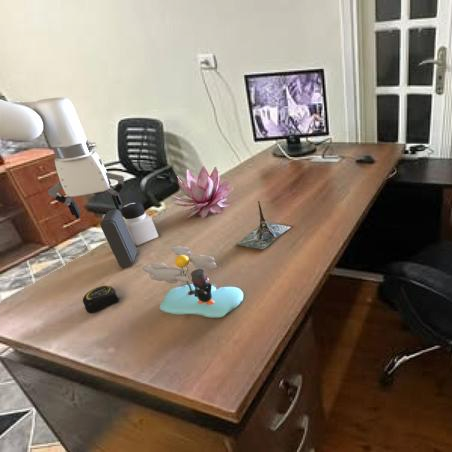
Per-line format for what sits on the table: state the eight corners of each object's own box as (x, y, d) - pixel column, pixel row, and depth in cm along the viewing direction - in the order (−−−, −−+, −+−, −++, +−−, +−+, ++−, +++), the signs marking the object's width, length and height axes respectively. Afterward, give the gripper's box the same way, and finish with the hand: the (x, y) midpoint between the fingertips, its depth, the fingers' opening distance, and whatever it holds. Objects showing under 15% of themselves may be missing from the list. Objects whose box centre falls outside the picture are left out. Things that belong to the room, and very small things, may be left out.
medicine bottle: (159, 236, 115) (146, 204, 109) (137, 246, 111) (122, 212, 105) (150, 230, 120) (138, 198, 114) (129, 239, 115) (115, 206, 109)
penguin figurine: (250, 293, 85) (237, 241, 78) (228, 325, 76) (210, 270, 69) (181, 285, 91) (162, 235, 83) (153, 314, 82) (129, 261, 74)
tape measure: (90, 319, 82) (83, 307, 80) (86, 304, 87) (80, 292, 85) (121, 305, 86) (115, 293, 84) (116, 291, 91) (110, 280, 89)
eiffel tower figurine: (265, 222, 117) (258, 185, 111) (291, 227, 113) (284, 189, 107) (237, 245, 106) (226, 206, 99) (264, 251, 102) (255, 210, 95)
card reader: (124, 253, 107) (104, 210, 100) (138, 250, 108) (120, 207, 101) (118, 269, 100) (97, 224, 92) (134, 266, 101) (113, 220, 93)
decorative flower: (185, 232, 116) (171, 190, 109) (173, 210, 133) (160, 173, 125) (246, 212, 126) (237, 172, 118) (227, 194, 142) (218, 158, 135)
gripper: (112, 141, 93) (134, 200, 101) (35, 153, 87) (64, 214, 95) (110, 147, 87) (133, 209, 95) (26, 161, 81) (59, 225, 89)
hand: (99, 212), depth 95 cm, fingers open, 9 cm apart
